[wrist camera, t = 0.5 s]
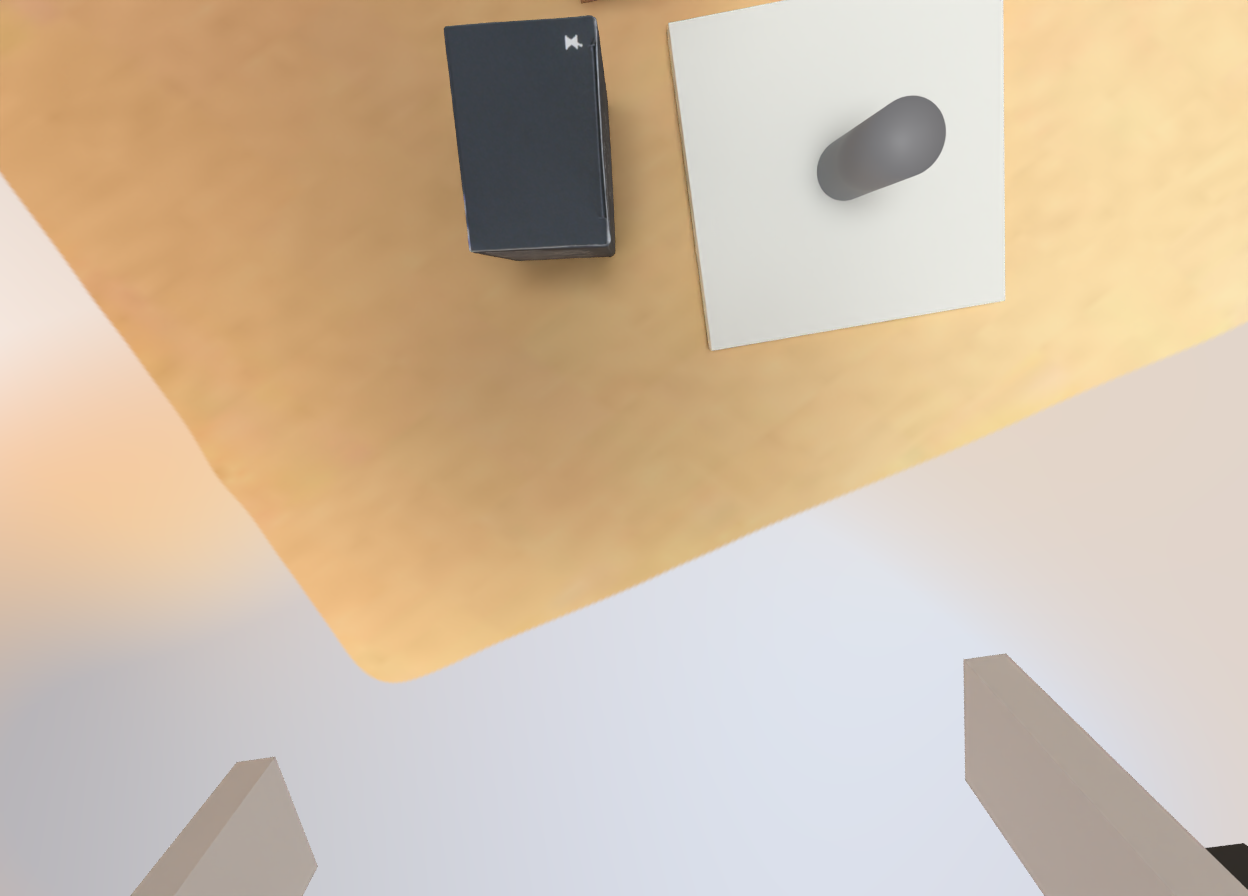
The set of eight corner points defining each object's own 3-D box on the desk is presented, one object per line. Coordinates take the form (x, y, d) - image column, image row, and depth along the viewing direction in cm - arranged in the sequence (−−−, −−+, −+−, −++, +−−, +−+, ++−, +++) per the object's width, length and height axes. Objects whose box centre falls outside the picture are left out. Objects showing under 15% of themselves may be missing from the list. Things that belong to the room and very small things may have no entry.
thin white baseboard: (666, 32, 30) (681, -56, 22) (988, -30, 30) (1120, -144, 22) (708, 348, 35) (734, 367, 27) (992, 299, 34) (1104, 304, 26)
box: (499, 105, 31) (439, 19, 21) (608, 99, 31) (601, 10, 21) (514, 263, 33) (465, 254, 23) (616, 258, 33) (613, 246, 23)
